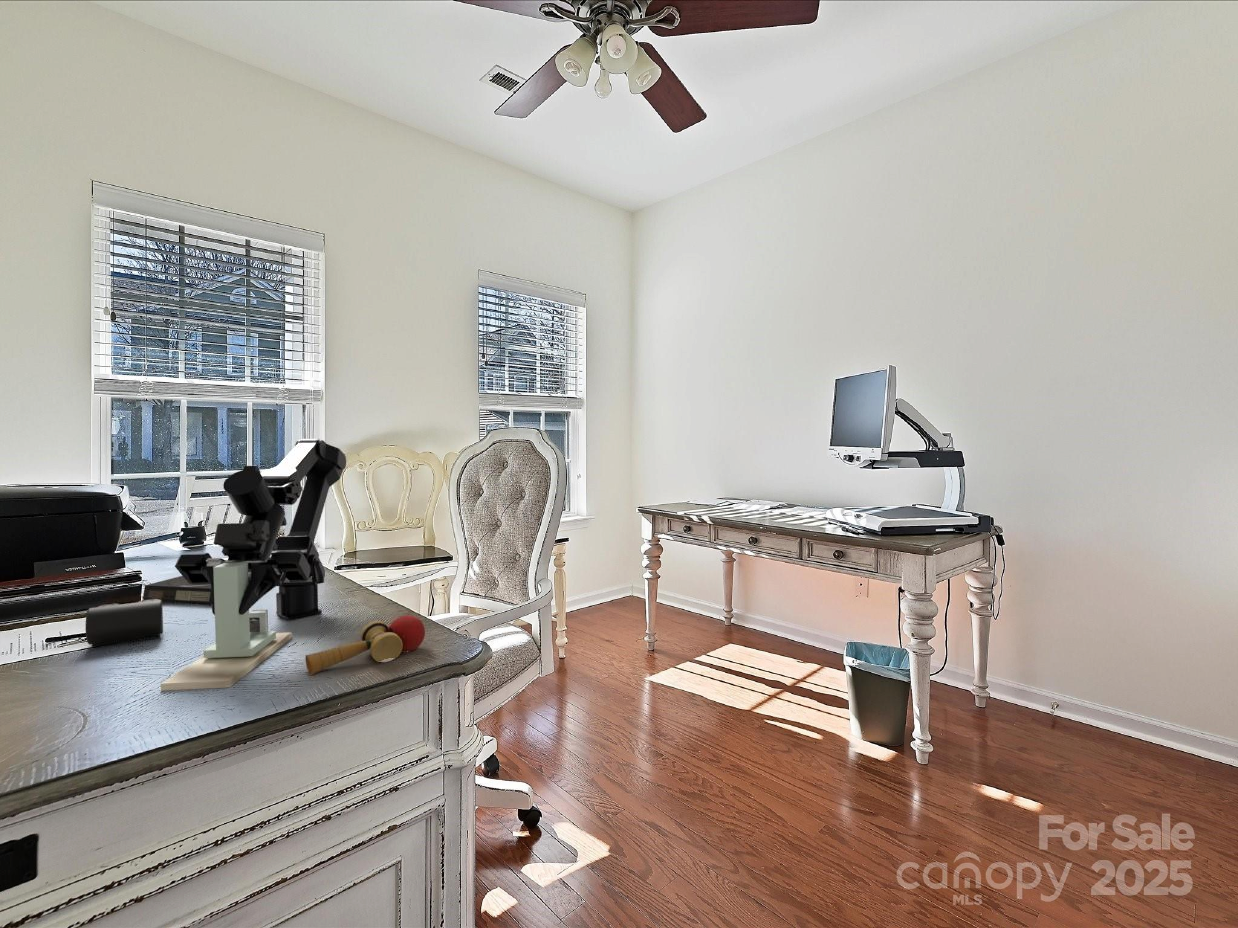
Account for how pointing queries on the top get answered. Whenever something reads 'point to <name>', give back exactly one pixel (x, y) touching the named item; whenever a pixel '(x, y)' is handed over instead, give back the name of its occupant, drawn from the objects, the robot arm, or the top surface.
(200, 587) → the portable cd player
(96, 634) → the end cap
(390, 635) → the kendama
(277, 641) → the board
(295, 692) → the top surface
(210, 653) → the tall sage green column
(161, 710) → the top surface
